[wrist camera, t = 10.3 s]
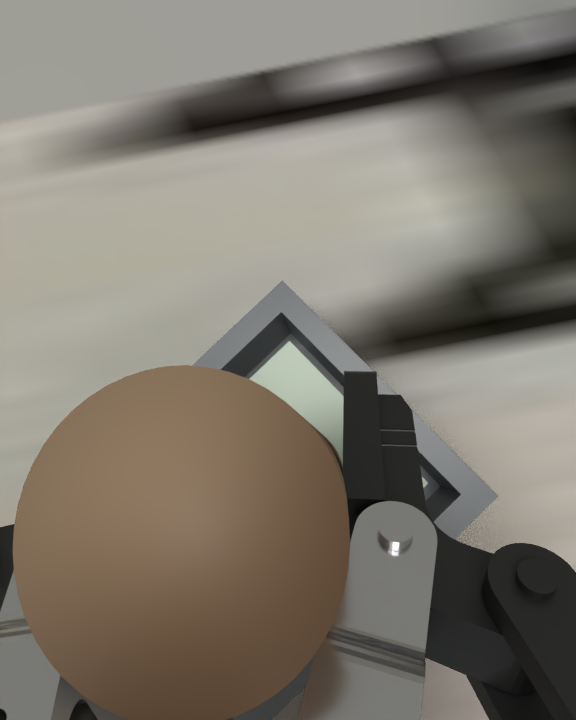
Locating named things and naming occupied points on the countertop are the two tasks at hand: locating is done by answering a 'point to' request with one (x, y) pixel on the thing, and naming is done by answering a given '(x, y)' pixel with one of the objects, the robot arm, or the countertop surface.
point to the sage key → (306, 392)
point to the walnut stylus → (182, 545)
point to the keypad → (332, 357)
